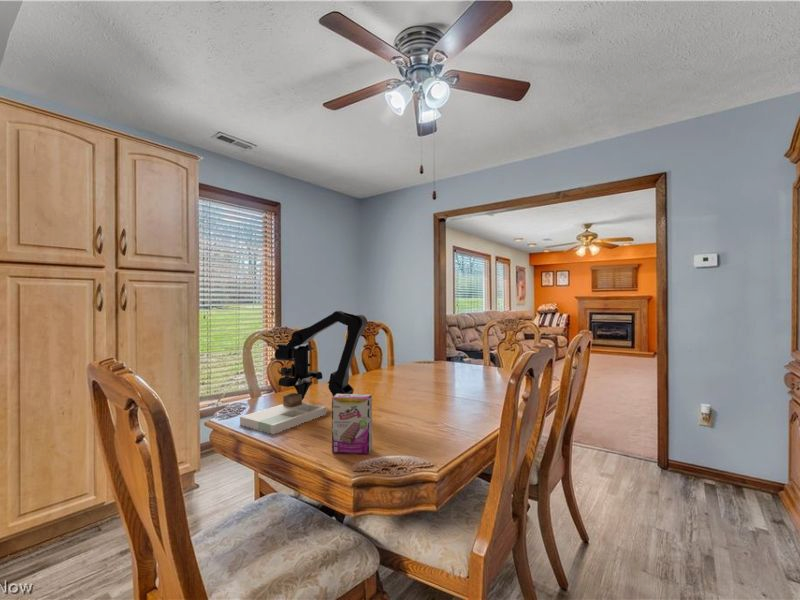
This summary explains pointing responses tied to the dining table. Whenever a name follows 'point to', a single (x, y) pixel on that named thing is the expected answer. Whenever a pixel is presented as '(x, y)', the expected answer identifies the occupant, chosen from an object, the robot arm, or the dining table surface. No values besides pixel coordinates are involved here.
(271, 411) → the board
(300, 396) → the walnut block
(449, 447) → the dining table surface
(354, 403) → the candy bar box
